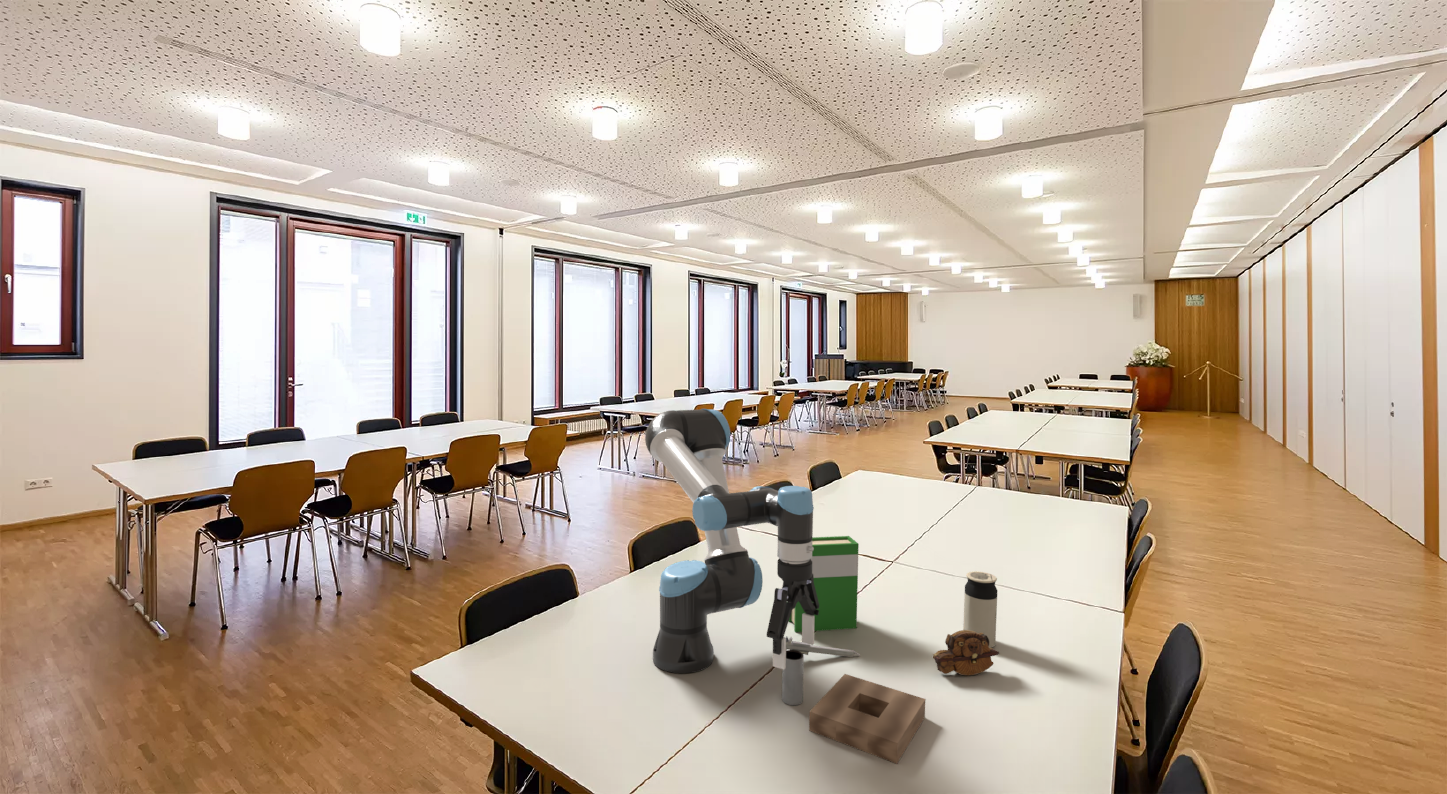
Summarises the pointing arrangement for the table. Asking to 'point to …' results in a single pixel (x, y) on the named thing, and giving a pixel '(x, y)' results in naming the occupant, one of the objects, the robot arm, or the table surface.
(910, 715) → the socket board
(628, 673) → the table surface
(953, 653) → the wooden carving
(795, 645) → the caliper
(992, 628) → the travel mug
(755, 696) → the table surface
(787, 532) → the robot arm
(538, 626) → the table surface
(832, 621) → the hardback book
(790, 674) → the grey metal tube
